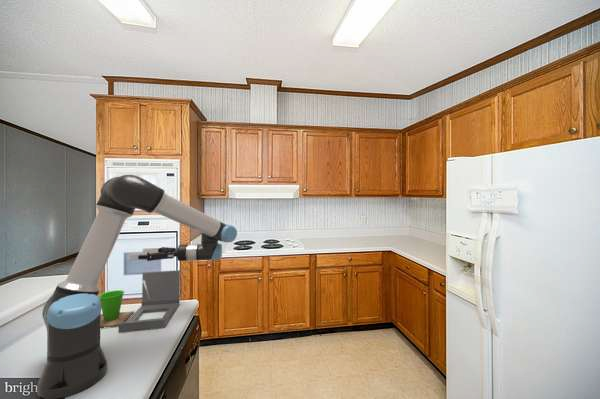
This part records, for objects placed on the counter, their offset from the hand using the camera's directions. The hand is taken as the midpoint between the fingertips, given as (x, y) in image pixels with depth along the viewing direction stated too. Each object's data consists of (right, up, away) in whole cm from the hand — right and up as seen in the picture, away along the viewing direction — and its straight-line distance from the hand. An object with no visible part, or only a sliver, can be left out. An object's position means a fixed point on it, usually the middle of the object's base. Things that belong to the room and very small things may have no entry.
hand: (137, 254), depth 113 cm
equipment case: (+6, -29, +1) cm, 30 cm away
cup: (-10, -28, -3) cm, 30 cm away
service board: (-10, -29, -3) cm, 31 cm away
